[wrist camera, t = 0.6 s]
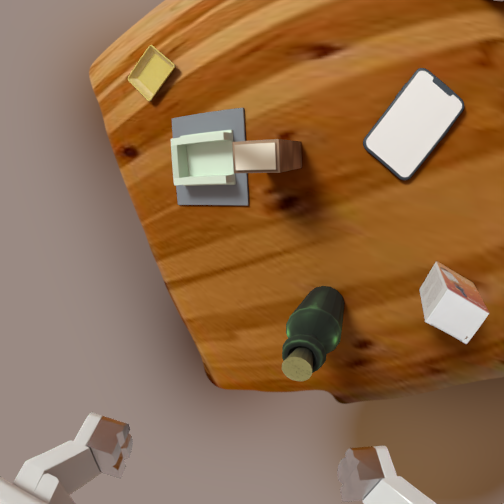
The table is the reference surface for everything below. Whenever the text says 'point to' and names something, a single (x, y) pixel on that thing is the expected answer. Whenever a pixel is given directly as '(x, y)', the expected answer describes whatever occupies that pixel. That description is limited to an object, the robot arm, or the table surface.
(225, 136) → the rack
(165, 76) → the yellow square tray
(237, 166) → the tall wooden pillar
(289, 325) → the potion bottle
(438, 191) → the table surface
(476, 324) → the small box
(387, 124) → the smartphone
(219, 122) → the mat
